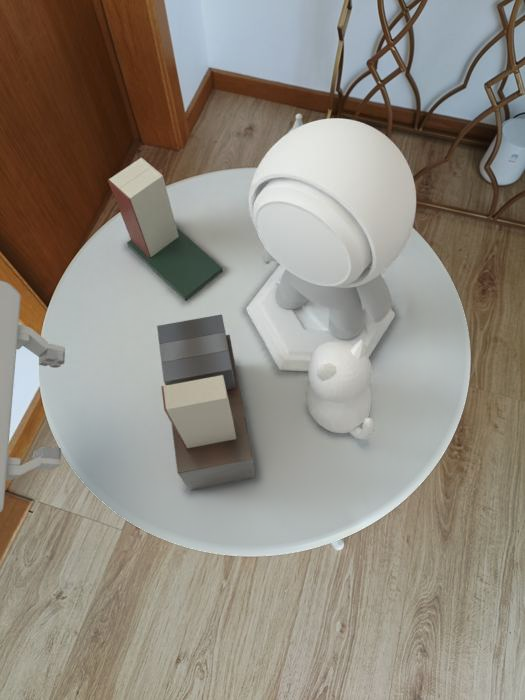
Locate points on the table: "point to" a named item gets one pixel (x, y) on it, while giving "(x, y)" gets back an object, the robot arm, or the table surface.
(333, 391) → the cat figurine
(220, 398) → the white book
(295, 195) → the white toy figurine
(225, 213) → the table surface
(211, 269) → the green book holder
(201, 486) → the grey stand
